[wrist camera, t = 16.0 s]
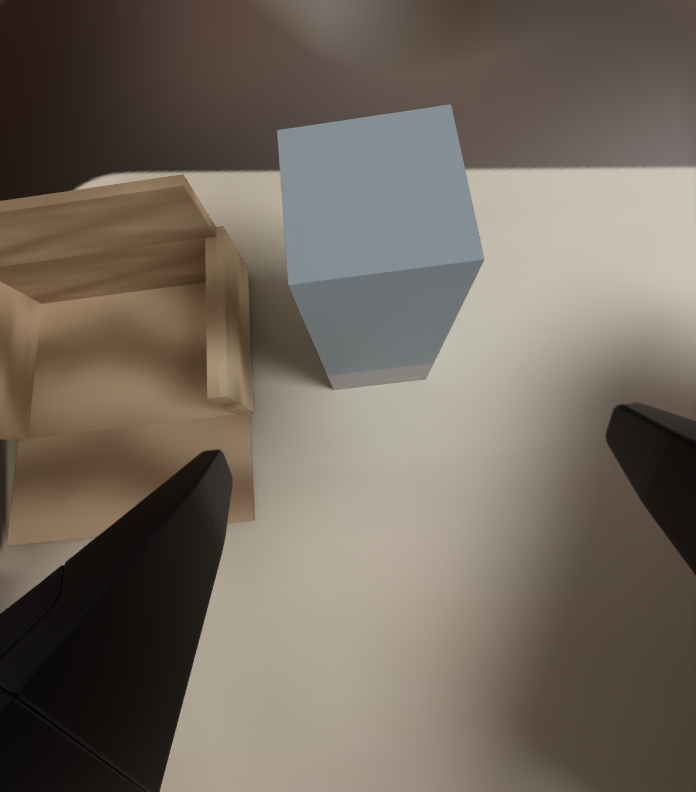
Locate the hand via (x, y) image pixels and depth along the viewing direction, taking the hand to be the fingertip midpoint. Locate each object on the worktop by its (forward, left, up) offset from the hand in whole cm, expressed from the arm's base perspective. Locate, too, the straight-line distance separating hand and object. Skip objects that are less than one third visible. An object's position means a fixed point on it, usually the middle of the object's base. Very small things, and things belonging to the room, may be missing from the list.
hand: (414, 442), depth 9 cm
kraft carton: (+2, +16, -13) cm, 20 cm away
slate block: (+7, +2, -13) cm, 15 cm away
